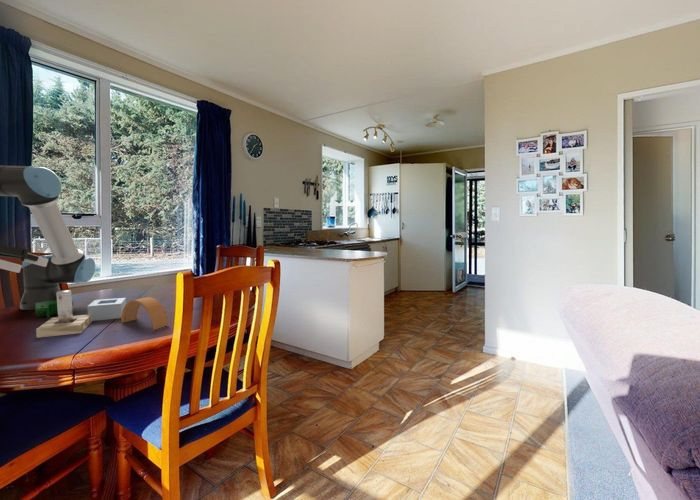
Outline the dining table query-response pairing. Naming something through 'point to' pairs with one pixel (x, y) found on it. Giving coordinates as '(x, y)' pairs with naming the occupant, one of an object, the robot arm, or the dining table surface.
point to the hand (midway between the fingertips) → (33, 266)
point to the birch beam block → (64, 326)
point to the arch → (152, 308)
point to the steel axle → (64, 306)
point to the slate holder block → (106, 308)
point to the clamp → (46, 308)
